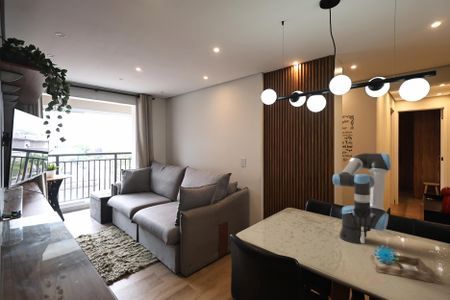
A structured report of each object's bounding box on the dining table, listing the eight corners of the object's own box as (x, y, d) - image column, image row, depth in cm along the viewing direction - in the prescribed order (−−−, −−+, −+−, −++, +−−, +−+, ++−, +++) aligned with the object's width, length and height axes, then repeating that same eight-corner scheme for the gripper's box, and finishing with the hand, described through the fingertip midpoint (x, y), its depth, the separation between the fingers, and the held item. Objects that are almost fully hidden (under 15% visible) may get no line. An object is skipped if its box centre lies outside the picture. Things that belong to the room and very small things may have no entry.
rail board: (376, 272, 113) (376, 264, 113) (370, 257, 128) (370, 250, 128) (433, 282, 104) (433, 274, 104) (419, 265, 118) (419, 258, 118)
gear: (370, 256, 121) (377, 241, 124) (372, 261, 124) (379, 246, 127) (394, 268, 112) (401, 251, 115) (396, 272, 115) (402, 256, 118)
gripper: (349, 201, 121) (350, 243, 121) (377, 204, 116) (377, 247, 116) (348, 198, 128) (348, 237, 128) (374, 200, 122) (374, 241, 123)
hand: (362, 242), depth 122 cm, fingers closed
